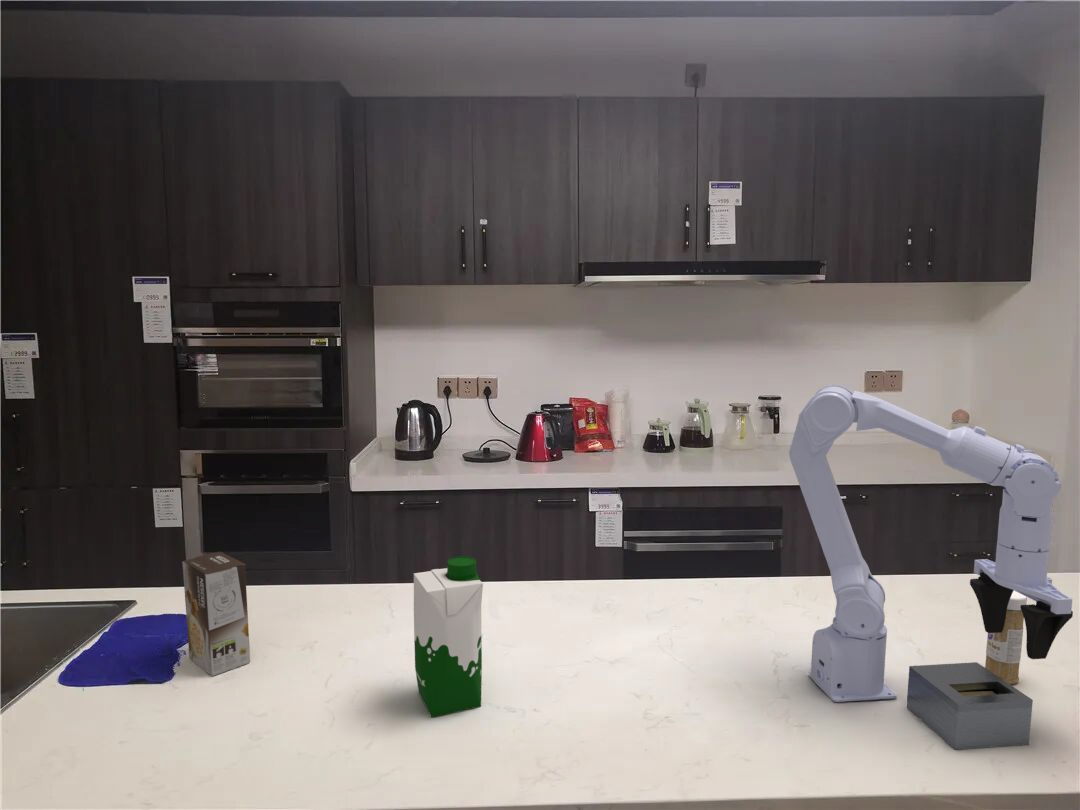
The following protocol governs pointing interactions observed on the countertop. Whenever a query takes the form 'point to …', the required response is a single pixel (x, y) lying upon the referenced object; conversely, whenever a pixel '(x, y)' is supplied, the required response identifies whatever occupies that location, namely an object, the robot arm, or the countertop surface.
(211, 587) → the coffee box
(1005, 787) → the countertop surface
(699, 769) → the countertop surface
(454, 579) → the milk carton
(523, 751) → the countertop surface
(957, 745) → the box
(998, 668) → the sprinkles bottle
